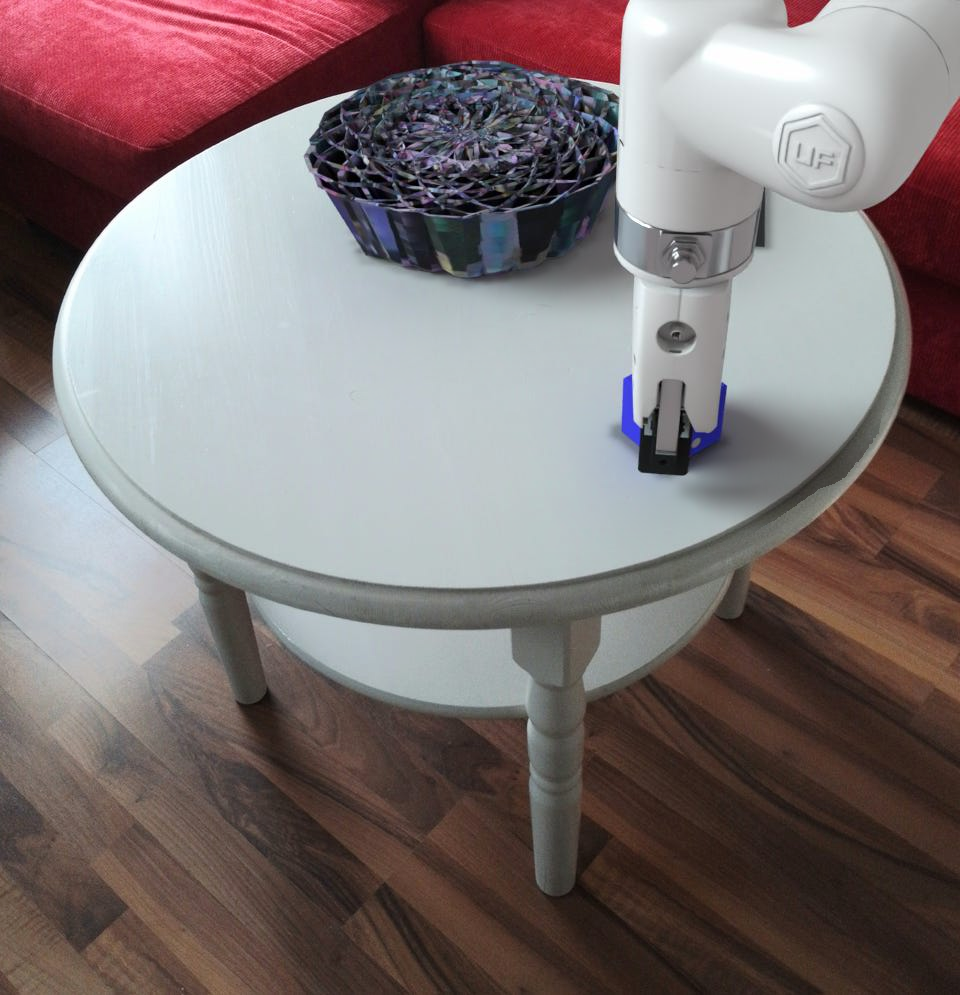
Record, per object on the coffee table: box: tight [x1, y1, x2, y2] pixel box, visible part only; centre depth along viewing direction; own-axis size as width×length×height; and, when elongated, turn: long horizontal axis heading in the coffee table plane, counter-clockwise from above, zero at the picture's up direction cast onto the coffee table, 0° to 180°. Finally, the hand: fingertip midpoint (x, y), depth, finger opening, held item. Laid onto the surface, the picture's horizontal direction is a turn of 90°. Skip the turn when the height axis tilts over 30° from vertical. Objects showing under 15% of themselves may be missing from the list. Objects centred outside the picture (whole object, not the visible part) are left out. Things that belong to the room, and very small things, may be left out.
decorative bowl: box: [303, 60, 619, 278], centre depth 95 cm, size 26×28×10 cm
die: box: [621, 373, 728, 457], centre depth 75 cm, size 5×5×5 cm
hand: (662, 465), depth 72 cm, fingers closed
